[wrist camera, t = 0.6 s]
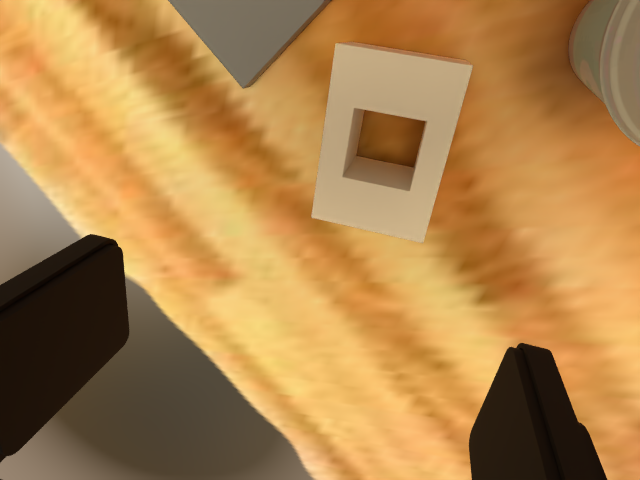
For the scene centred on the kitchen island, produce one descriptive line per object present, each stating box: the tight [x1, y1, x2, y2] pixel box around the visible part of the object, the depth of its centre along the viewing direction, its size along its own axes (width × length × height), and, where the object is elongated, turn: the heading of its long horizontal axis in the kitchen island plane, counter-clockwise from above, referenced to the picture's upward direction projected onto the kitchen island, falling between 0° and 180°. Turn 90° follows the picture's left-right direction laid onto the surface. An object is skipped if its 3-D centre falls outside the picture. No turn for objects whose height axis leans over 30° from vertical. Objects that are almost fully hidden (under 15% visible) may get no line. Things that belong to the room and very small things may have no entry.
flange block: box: [311, 42, 473, 243], centre depth 26 cm, size 10×7×5 cm
